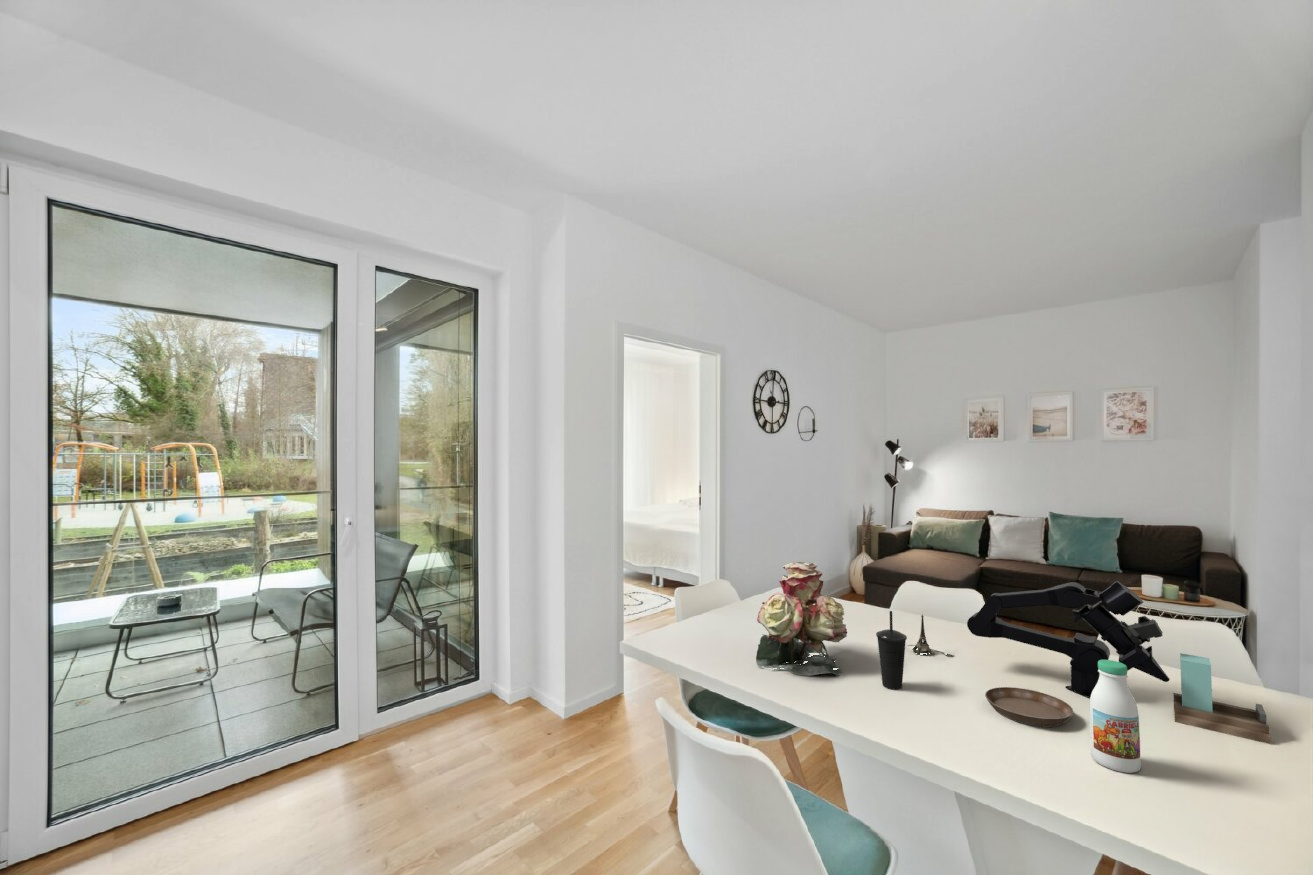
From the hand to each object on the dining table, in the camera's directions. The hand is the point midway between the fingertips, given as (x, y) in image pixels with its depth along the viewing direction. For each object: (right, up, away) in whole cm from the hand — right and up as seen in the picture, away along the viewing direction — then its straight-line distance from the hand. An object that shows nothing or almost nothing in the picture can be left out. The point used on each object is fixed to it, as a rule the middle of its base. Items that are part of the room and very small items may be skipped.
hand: (1167, 680), depth 134 cm
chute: (+6, -7, -6) cm, 11 cm away
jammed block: (+4, -5, -3) cm, 7 cm away
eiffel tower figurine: (-40, -9, +40) cm, 57 cm away
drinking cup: (-61, -8, +15) cm, 63 cm away
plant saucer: (-35, -8, -1) cm, 36 cm away
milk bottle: (-32, -7, -23) cm, 40 cm away
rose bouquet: (-80, -9, +33) cm, 87 cm away
